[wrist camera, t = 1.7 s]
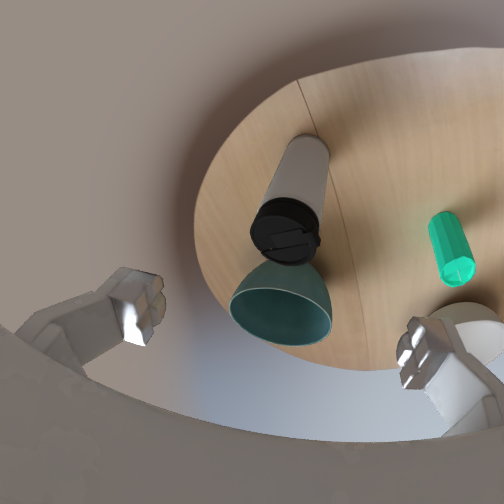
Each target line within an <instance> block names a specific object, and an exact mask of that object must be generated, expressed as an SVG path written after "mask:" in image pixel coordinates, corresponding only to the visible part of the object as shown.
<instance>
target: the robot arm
mask: <svg viewBox="0 0 504 504" xmlns="http://www.w3.org/2000/svg"><path fill="white" fill-rule="evenodd" d="M163 287H164V283H163V278H162V277H161V276H160V275H156V274H151V273H148V272H143V271H139V270H134V269H131V268H126V267H120V268H119V269H118V270H117V271H115V272H114V274H113V275H111V276H110V277H109V279H107V280H106V281H105V282H104V283H103V284H102V285H101V286H100V287H99V288H98V289H97V290H96V291H95V292H92V291H90V292H88V293H85V294H82V295H79V296H77V297H74V298H71V299H69V300H66V301H63V302H61V303H58V304H55V305H52V306H50V307H48V308H45V309H42V310H39V311H37V312H35V313H34V314H33V315H32V316H31V317H30V318H29V319H28V320H27V321H26V322H25V323H24V324H23V325H22V326H21V327H20V328H19V329H18V330H17V331H16V332H15V333H14V334H13V333H11V332H10V331H9V330H7V329H6V328H4V327H3V326H2V325H0V504H504V384H503V383H502V382H501V381H500V380H499V379H498V378H497V377H496V376H495V375H494V374H493V373H492V372H491V371H490V370H488V369H487V368H486V367H485V366H484V365H483V364H482V363H481V362H480V361H479V360H478V359H477V358H476V357H474V356H473V355H472V354H471V353H467V351H466V349H465V347H464V344H463V342H462V340H461V338H460V335H459V333H458V331H457V329H456V327H455V325H454V323H453V321H452V320H450V319H442V318H438V319H435V318H424V317H414V316H413V317H412V318H411V319H410V321H409V323H408V325H407V328H408V332H406V333H405V334H403V335H402V336H401V338H400V340H399V342H398V346H397V350H396V357H397V363H398V364H399V365H400V366H401V367H402V370H401V372H400V377H401V382H402V387H403V389H419V390H424V392H425V393H426V395H427V396H428V398H429V399H430V400H431V402H432V403H433V405H434V406H435V407H436V409H437V410H438V412H439V413H440V415H441V416H442V417H443V419H444V420H445V422H446V423H447V425H448V426H449V427H450V429H449V430H448V431H447V432H446V433H445V434H443V435H442V436H441V437H439V438H432V439H424V440H412V441H398V442H375V443H373V442H372V443H371V442H365V443H364V442H363V443H362V442H331V441H318V440H306V439H296V438H289V437H281V436H274V435H268V434H261V433H256V432H251V431H245V430H240V429H235V428H231V427H227V426H221V425H218V424H214V423H210V422H206V421H202V420H199V419H195V418H192V417H188V416H184V415H181V414H178V413H175V412H172V411H169V410H166V409H163V408H160V407H157V406H154V405H151V404H149V403H146V402H143V401H141V400H138V399H135V398H133V397H130V396H128V395H125V394H123V393H120V392H118V391H116V390H113V389H111V388H109V387H107V386H105V385H102V384H100V383H98V382H96V381H94V380H92V379H90V378H88V377H87V375H86V373H85V371H84V370H83V368H82V366H83V365H84V364H86V363H88V362H89V361H91V360H93V359H94V358H96V357H98V356H99V355H101V354H103V353H104V352H106V351H108V350H109V349H111V348H113V347H114V346H116V345H118V344H119V343H121V342H123V340H126V341H130V342H132V343H136V344H139V345H143V346H146V344H147V343H148V341H149V340H150V338H151V337H152V335H153V333H154V331H153V327H154V326H156V325H158V324H160V323H161V321H162V319H163V317H164V314H165V311H166V299H165V296H164V295H163V293H162V292H161V290H162V289H163Z"/></svg>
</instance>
